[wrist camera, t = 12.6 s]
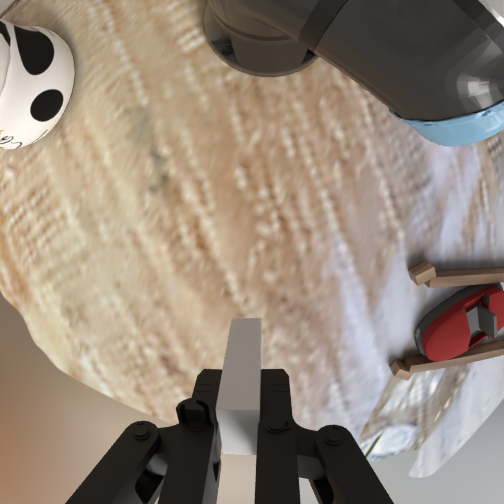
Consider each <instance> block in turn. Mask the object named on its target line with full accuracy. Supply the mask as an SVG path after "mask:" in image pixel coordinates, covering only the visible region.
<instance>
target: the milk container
mask: <svg viewBox="0 0 504 504" xmlns="http://www.w3.org/2000/svg"><path fill="white" fill-rule="evenodd" d="M74 79H75V67H74V59H73V56H72V53H71V50H70V48H69V46H68V45H67V43H66V42H65V41H64V40H63V39H62V38H61V37H60V36H59V35H57V34H56V33H54V32H53V31H51V30H49V29H46V28H43V27H38V26H19V25H16V24H13V23H11V22H9V21H6V20H4V19H0V149H15V148H20V147H24V146H27V145H29V144H32V143H34V142H36V141H38V140H39V139H41V138H42V137H44V136H45V135H46V134H47V133H48V132H49V131H50V130H51V129H52V128H53V127H54V126H55V125H56V123H57V122H58V121H59V119H60V118H61V116H62V115H63V113H64V111H65V109H66V107H67V105H68V102H69V100H70V97H71V94H72V90H73V85H74Z"/></svg>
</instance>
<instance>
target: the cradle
mask: <svg viewBox="0 0 504 504" xmlns="http://www.w3.org/2000/svg"><path fill="white" fill-rule="evenodd" d="M409 274H410V277H411V279H412V280H413V281H414V282H415V283H416V284H417V285H418V286H419V285H421V284H423V283H424V284H426V285H427V286H428V287H429V288H435V287H450V286H464V285H476V284H489V283H500V282H504V267H495V268H475V269H454V270H435V268H434V266H433V265H431V264H430V263H429V262H428V261H424V262H422V263H420V264H418V265H416V266H415V267H413V268H411V269H409ZM501 355H504V340H501V341H497V342H492V343H487V344H482V345H477V346H472V347H470V348H468V351H466V352H464V353H462V354H461V355H459V356H456V357H453V358H451V359H448V360H446V361H432V360H430V359H428V357H426V356H424V355H415V356H407V357H405V361H404V363H403V362H400V361H397V360H394V362H393V363H392V365H391V366H390V369H391V371H392V373H393V375H394V377H398V378H401V379H404V380H409V379H410V377H411V376H412V375H413V374H414V373H415V372H422V371H428V370H434V369H440V368H445V367H451V366H456V365H461V364H466V363H471V362H475V361H480V360H484V359H489V358H493V357H497V356H501Z"/></svg>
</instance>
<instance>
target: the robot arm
mask: <svg viewBox="0 0 504 504" xmlns="http://www.w3.org/2000/svg"><path fill="white" fill-rule="evenodd" d="M203 25H204V31H205V34H206V37H207V39H208V41H209V43H210V45H211V47H212V49H213V50H214V52H215V53H216V54H217V55H218V56H219V57H220V58H221V59H222V60H223V61H224V62H225V63H227V64H228V65H229V66H231V67H233V68H234V69H236V70H239V71H241V72H244V73H246V74H250V75H254V76H260V77H279V76H285V75H289V74H293V73H295V72H298V71H300V70H302V69H304V68H306V67H308V66H309V65H311V64H312V63H313V62H314V61H315V60H316V59H317V58H318V57H321V58H322V59H324V60H325V61H327V62H328V63H330V64H331V65H333V66H334V67H336V68H337V69H339V70H340V71H341V72H343V73H344V74H346V75H347V76H348V77H350V78H351V79H352V80H354V81H355V82H357V83H358V84H359V85H361V86H362V87H363V88H364V89H366V90H367V91H368V92H370V93H371V94H372V95H374V96H375V97H376V98H377V99H379V100H380V101H381V102H382V103H383V104H385V105H386V106H387V107H388V108H389V111H390V112H391V113H392V114H393V115H394V116H395V117H396V118H397V119H399V120H402V121H403V122H405V123H407V124H409V125H410V126H411V127H412V128H414V129H415V130H416V131H417V132H418V133H419V134H421V135H422V136H423V137H424V138H426V139H427V140H429V141H431V142H434V143H437V144H439V145H443V146H453V147H454V146H464V145H469V144H473V143H476V142H479V141H482V140H484V139H486V138H489V137H491V136H492V135H494V134H496V133H498V132H499V131H501V130H502V129H504V0H208V1H207V3H206V6H205V9H204V15H203ZM176 412H177V416H178V420H179V424H176V425H174V426H170V427H164V428H157V427H156V425H155V424H153V423H151V422H148V421H137V422H135V423H132V424H131V425H129V426H128V427H127V428H126V429H125V431H124V432H123V433H122V434H121V436H120V437H119V438H118V439H117V441H116V442H115V443H114V444H113V446H112V447H111V448H110V449H109V450H108V452H107V453H106V454H105V455H104V457H103V458H102V459H101V460H100V462H99V463H98V464H97V465H96V466H95V468H94V469H93V470H92V472H91V473H90V474H89V475H88V476H87V478H86V479H85V480H84V481H83V482H82V484H81V485H80V486H79V487H78V489H77V490H76V491H75V492H74V493H73V495H72V496H71V497H70V498H69V500H68V501H67V502H66V503H65V504H154V503H155V501H156V500H157V498H158V497H159V500H158V504H216V502H217V494H218V487H219V479H220V471H221V459H220V455H221V449H222V454H243V455H244V454H245V455H257V458H256V482H255V483H256V484H255V504H300V490H299V477H301V478H306V479H309V482H310V484H311V487H312V489H313V491H314V494H315V496H316V498H317V501H318V503H319V504H394V503H393V501H392V500H391V498H390V497H389V495H388V493H387V492H386V490H385V488H384V487H383V485H382V484H381V482H380V481H379V479H378V477H377V475H376V474H375V472H374V470H373V469H372V467H371V466H370V464H369V462H368V461H367V459H366V457H365V456H364V454H363V452H362V451H361V449H360V448H359V446H358V444H357V443H356V441H355V439H354V438H353V436H352V434H351V433H350V432H349V431H348V430H347V429H346V428H344V427H342V426H339V425H327V426H324V427H322V428H320V429H319V430H318V431H314V430H309V429H305V428H303V427H301V426H299V425H298V424H297V423H295V421H294V419H293V416H292V406H291V395H290V384H289V376H288V374H287V373H286V372H285V370H284V369H262V319H261V318H232V322H231V327H230V332H229V338H228V343H227V349H226V354H225V360H224V365H223V370H220V369H204V370H203V371H202V372H201V373H200V374H199V375H198V376H197V380H196V383H195V387H194V392H193V394H192V398H189V399H186V400H183V401H182V402H180V403H179V404H178V406H177V407H176ZM159 495H160V496H159Z"/></svg>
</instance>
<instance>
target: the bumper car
mask: <svg viewBox="0 0 504 504" xmlns="http://www.w3.org/2000/svg"><path fill="white" fill-rule="evenodd" d="M503 326H504V291H503V288H502V286H501V284H500V283H489V284H476V285H471V286H469V287H467V288H466V289H464V290H462V291H460V292H458V293H456V294H455V295H453V296H452V297H450V298H449V299H447V300H446V301H444V302H443V303H441V304H440V305H439V306H437V307H436V308H435V309H434V310H433V311H431V312H430V313H429V314H428V315H426V316H425V318H424V319H423V320H422V322H421V323H420V324H419V325H418V327H417V330H416V334H415V340H416V345H417V348H418V350H419V352H420V353H421V354H422V355H424V356H426V357H428V359H430V360H432V361H446V360H448V359H451V358H453V357H456V356H459V355H461V354H462V353H464V352H466V351H468V348H470V347H472V346H474V345H476V344H477V343H479V342H480V341H481V340H482V339H483V338H485V337H486V336H488V337H489V339H490V338H491V337H492V338H496V337H497V332H498V331H499V330H500V329H501V328H502V327H503Z"/></svg>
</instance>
